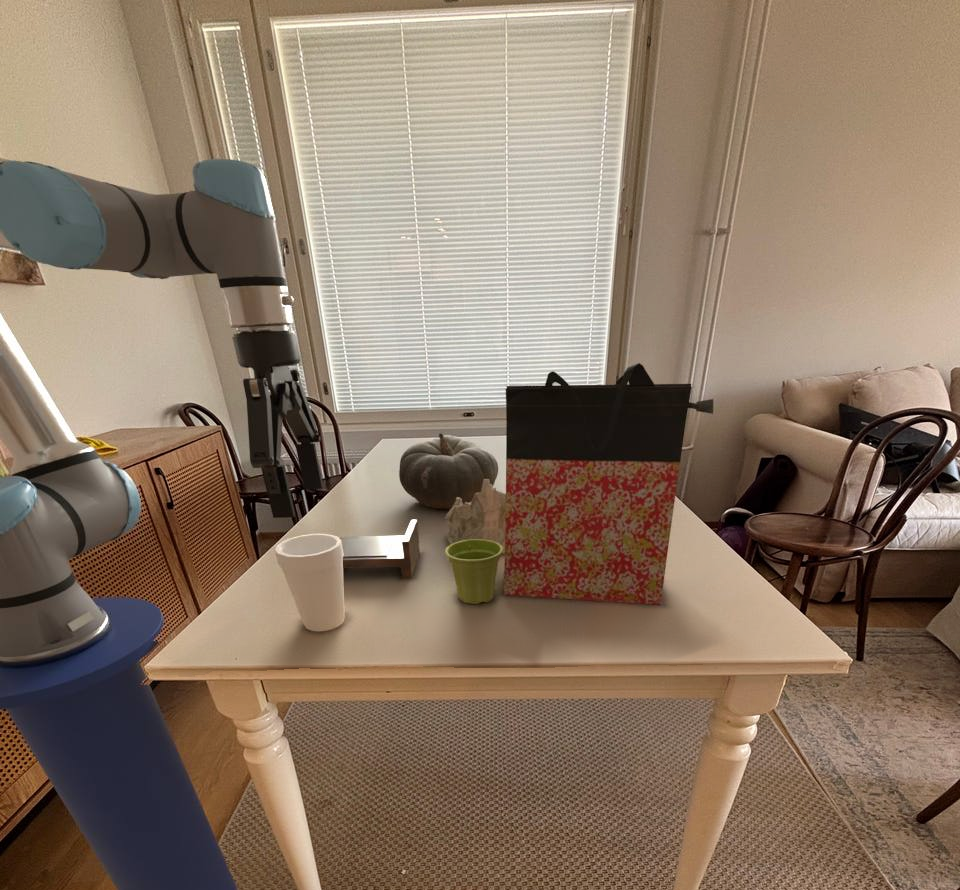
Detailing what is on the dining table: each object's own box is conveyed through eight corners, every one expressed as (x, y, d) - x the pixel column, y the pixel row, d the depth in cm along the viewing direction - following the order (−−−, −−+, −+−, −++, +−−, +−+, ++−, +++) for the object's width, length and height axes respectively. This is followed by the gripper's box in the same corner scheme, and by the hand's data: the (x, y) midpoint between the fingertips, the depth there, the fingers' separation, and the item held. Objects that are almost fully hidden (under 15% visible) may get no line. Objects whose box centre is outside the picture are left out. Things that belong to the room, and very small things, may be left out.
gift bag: (500, 602, 89) (497, 368, 71) (513, 568, 101) (514, 360, 83) (685, 615, 84) (732, 364, 66) (676, 577, 96) (714, 356, 78)
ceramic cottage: (541, 544, 111) (538, 470, 103) (471, 564, 105) (462, 486, 98) (505, 527, 123) (500, 460, 116) (440, 544, 117) (430, 474, 110)
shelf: (326, 580, 100) (319, 543, 96) (342, 555, 110) (336, 521, 106) (412, 578, 99) (408, 541, 95) (420, 553, 109) (417, 519, 105)
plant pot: (439, 604, 90) (435, 556, 85) (462, 582, 97) (459, 536, 92) (490, 613, 86) (489, 563, 82) (511, 589, 94) (510, 542, 89)
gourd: (453, 472, 155) (452, 411, 143) (517, 502, 142) (522, 437, 130) (384, 501, 141) (376, 435, 130) (448, 537, 129) (446, 468, 117)
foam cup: (283, 634, 82) (263, 555, 76) (308, 607, 90) (292, 533, 84) (342, 637, 81) (327, 557, 74) (362, 609, 89) (350, 534, 82)
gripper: (254, 330, 55) (299, 530, 66) (321, 326, 76) (346, 478, 87) (182, 333, 55) (239, 532, 66) (269, 329, 76) (301, 479, 87)
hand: (300, 501), depth 76 cm, fingers open, 13 cm apart
